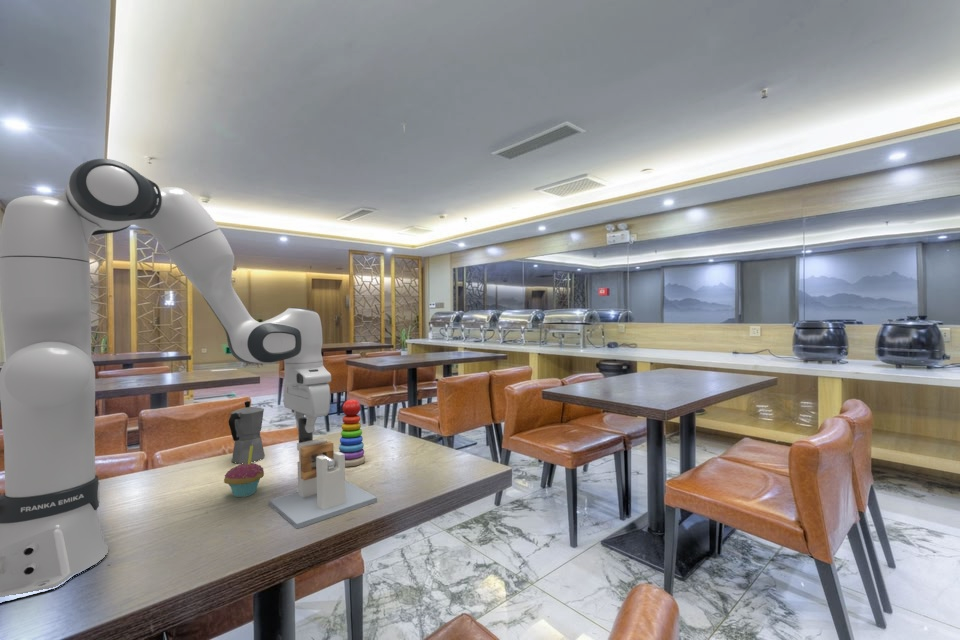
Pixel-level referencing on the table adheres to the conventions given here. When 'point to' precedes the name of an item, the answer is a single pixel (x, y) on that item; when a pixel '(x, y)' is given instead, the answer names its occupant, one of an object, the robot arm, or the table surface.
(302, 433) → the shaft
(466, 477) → the table surface
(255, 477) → the cupcake
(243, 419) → the coffeepot
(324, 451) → the collar
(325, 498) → the stand
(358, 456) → the stacking toy
